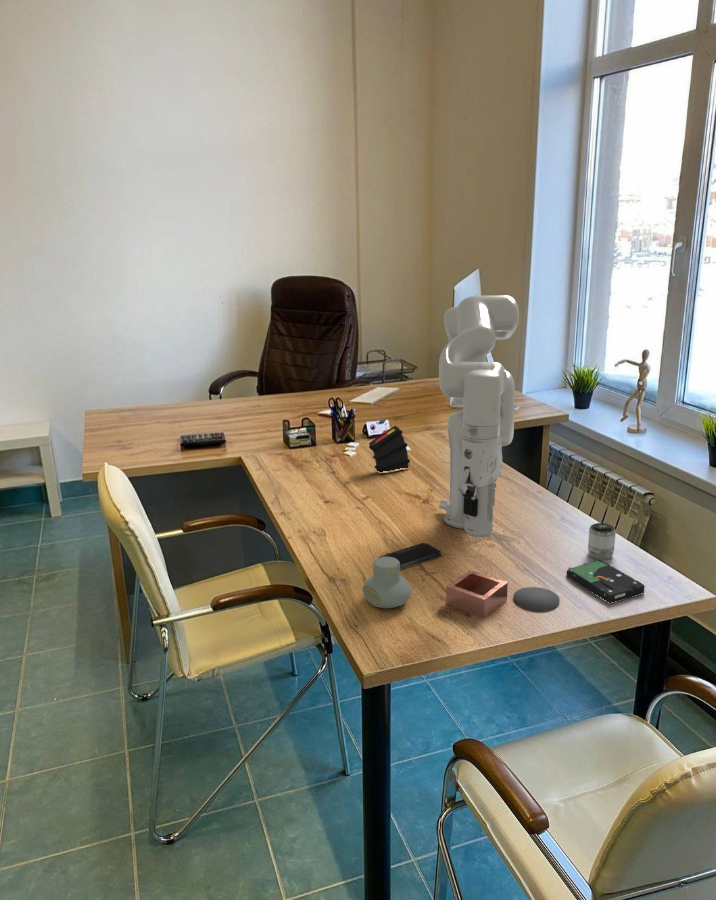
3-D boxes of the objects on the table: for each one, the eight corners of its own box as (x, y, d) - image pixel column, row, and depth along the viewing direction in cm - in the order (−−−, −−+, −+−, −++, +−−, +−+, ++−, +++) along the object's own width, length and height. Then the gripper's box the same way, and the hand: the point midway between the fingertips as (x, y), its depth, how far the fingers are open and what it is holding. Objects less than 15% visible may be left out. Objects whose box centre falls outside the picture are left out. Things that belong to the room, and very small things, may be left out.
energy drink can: (466, 525, 170) (468, 462, 165) (494, 528, 168) (496, 464, 163) (462, 537, 164) (463, 472, 159) (490, 540, 162) (492, 474, 158)
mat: (505, 601, 171) (505, 599, 171) (527, 584, 178) (527, 582, 178) (546, 616, 164) (546, 614, 164) (567, 597, 172) (567, 595, 172)
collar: (445, 604, 170) (446, 586, 169) (469, 587, 177) (470, 569, 176) (484, 618, 164) (484, 599, 163) (507, 600, 171) (507, 582, 170)
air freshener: (358, 598, 174) (356, 558, 171) (386, 587, 179) (386, 548, 175) (387, 618, 166) (386, 576, 162) (416, 606, 170) (416, 565, 167)
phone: (443, 552, 193) (394, 568, 186) (443, 557, 194) (394, 572, 186) (424, 542, 200) (376, 556, 192) (424, 546, 200) (376, 560, 192)
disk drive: (644, 595, 173) (598, 568, 186) (646, 584, 172) (599, 558, 185) (609, 606, 169) (564, 577, 182) (610, 595, 168) (565, 567, 181)
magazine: (418, 463, 255) (400, 427, 248) (386, 485, 252) (367, 449, 245) (412, 460, 258) (395, 424, 251) (381, 482, 255) (362, 446, 248)
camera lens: (618, 559, 189) (620, 530, 187) (594, 561, 188) (596, 532, 186) (606, 548, 195) (608, 519, 193) (583, 550, 194) (585, 522, 192)
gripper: (474, 444, 150) (472, 528, 156) (517, 423, 162) (514, 501, 168) (442, 437, 154) (441, 519, 160) (487, 417, 167) (484, 493, 173)
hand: (478, 509), depth 164 cm, fingers closed on energy drink can, 6 cm apart
